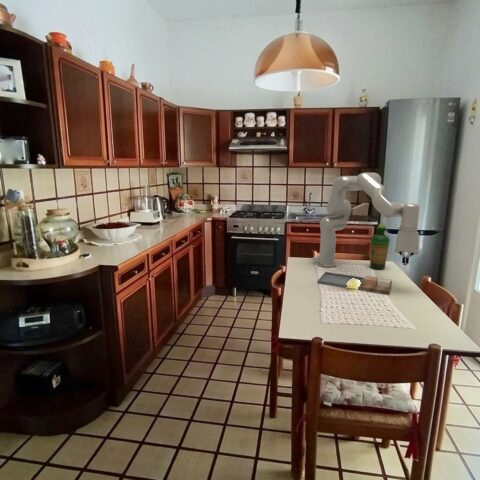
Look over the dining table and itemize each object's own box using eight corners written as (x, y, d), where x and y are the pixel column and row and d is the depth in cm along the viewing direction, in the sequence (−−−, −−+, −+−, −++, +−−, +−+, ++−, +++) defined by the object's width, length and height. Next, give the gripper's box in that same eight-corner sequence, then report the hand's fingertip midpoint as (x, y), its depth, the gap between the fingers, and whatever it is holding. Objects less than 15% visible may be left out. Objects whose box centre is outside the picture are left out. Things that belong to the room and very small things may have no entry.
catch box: (317, 283, 185) (317, 280, 185) (325, 274, 201) (325, 271, 201) (359, 290, 176) (360, 287, 175) (364, 280, 191) (364, 277, 191)
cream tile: (376, 285, 177) (377, 280, 177) (377, 282, 182) (378, 277, 182) (389, 287, 174) (389, 282, 174) (390, 283, 180) (390, 279, 179)
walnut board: (359, 290, 176) (360, 286, 175) (364, 280, 191) (364, 276, 191) (389, 295, 169) (389, 291, 169) (391, 284, 185) (391, 280, 185)
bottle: (367, 269, 213) (371, 224, 207) (369, 264, 222) (373, 222, 216) (385, 271, 208) (390, 226, 202) (387, 267, 217) (391, 223, 211)
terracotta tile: (363, 283, 180) (364, 278, 179) (365, 280, 185) (365, 275, 185) (375, 285, 177) (376, 280, 177) (377, 281, 183) (377, 277, 182)
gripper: (391, 228, 168) (388, 264, 172) (426, 231, 162) (421, 268, 165) (392, 226, 175) (389, 261, 178) (425, 228, 168) (421, 264, 172)
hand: (405, 264), depth 172 cm, fingers closed
